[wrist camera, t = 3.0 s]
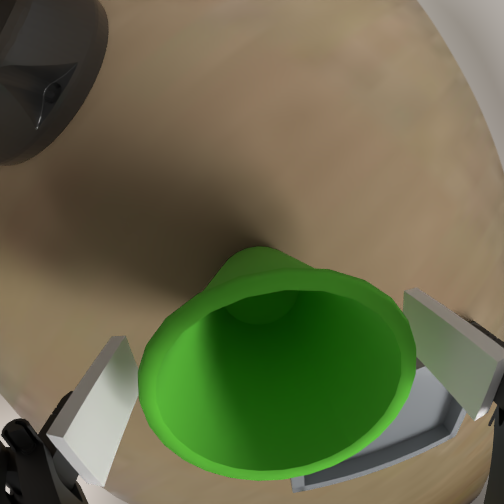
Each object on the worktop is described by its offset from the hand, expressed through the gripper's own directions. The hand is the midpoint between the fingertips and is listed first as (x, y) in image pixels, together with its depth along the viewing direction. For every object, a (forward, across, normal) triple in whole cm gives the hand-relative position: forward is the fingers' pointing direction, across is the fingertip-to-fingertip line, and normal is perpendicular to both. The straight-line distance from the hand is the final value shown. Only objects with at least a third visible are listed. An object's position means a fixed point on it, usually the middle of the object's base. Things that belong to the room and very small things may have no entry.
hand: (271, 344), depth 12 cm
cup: (+7, 0, 0) cm, 7 cm away
